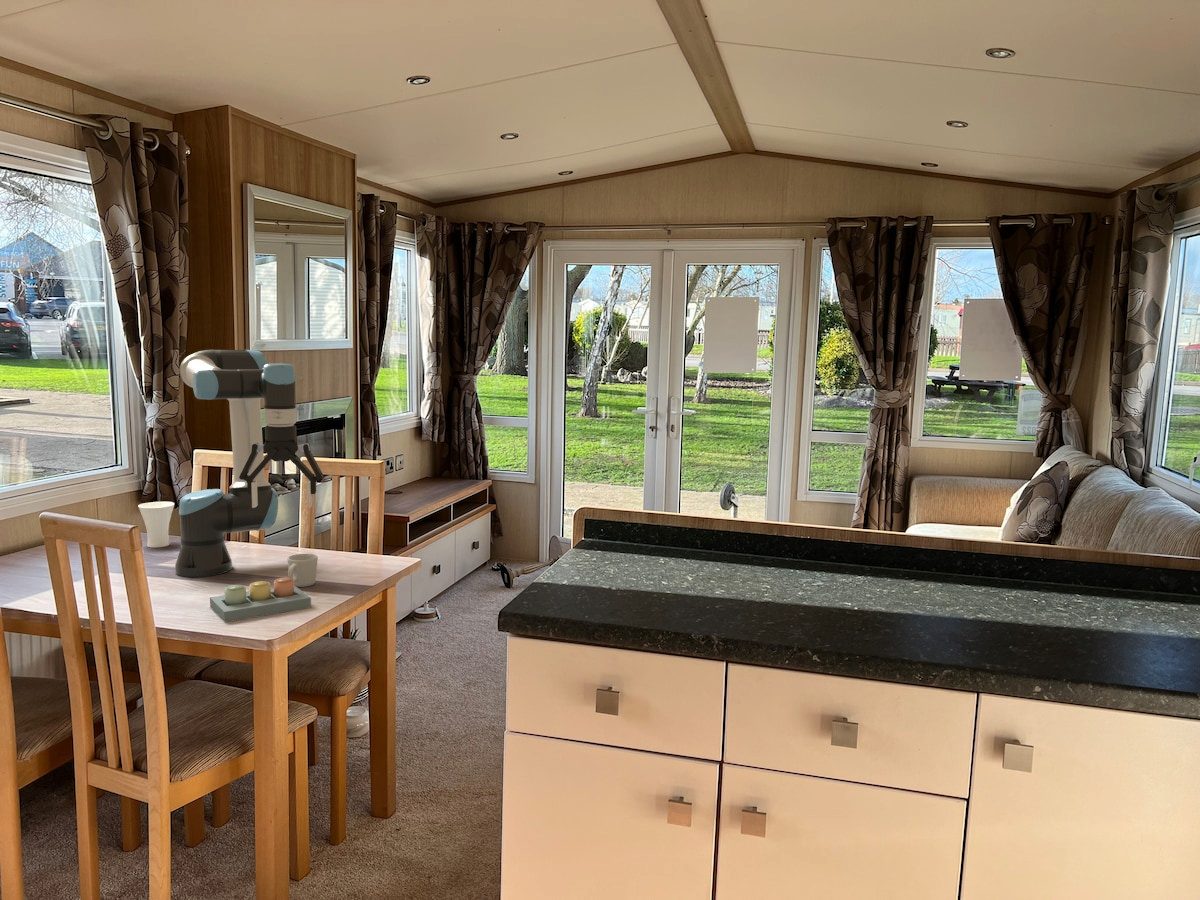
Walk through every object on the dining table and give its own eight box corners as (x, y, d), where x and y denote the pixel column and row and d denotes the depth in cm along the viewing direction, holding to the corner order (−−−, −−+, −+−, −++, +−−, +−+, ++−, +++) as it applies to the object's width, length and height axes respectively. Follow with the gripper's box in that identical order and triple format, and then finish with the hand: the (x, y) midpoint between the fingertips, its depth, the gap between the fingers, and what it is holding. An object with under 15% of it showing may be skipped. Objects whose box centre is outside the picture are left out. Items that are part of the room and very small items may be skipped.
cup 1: (132, 548, 280) (130, 506, 278) (154, 540, 290) (152, 500, 288) (162, 550, 278) (160, 508, 276) (183, 542, 288) (181, 502, 286)
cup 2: (303, 592, 236) (302, 564, 235) (276, 590, 238) (275, 562, 237) (323, 582, 247) (323, 554, 246) (298, 579, 248) (297, 552, 247)
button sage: (222, 602, 220) (222, 586, 219) (243, 598, 223) (242, 583, 222) (228, 607, 216) (227, 591, 216) (248, 603, 219) (248, 587, 219)
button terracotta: (271, 594, 227) (270, 578, 227) (290, 591, 230) (290, 576, 230) (277, 599, 223) (276, 583, 223) (297, 595, 226) (296, 580, 226)
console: (210, 607, 223) (209, 597, 222) (293, 593, 235) (292, 584, 235) (224, 622, 212) (224, 611, 211) (310, 607, 224) (310, 597, 224)
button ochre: (247, 598, 224) (246, 582, 223) (267, 594, 227) (267, 579, 226) (253, 603, 220) (252, 587, 219) (273, 599, 223) (272, 584, 222)
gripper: (224, 426, 216) (227, 509, 219) (329, 427, 220) (330, 509, 223) (232, 422, 223) (235, 503, 227) (333, 423, 227) (334, 503, 230)
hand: (282, 506), depth 225 cm, fingers open, 13 cm apart
